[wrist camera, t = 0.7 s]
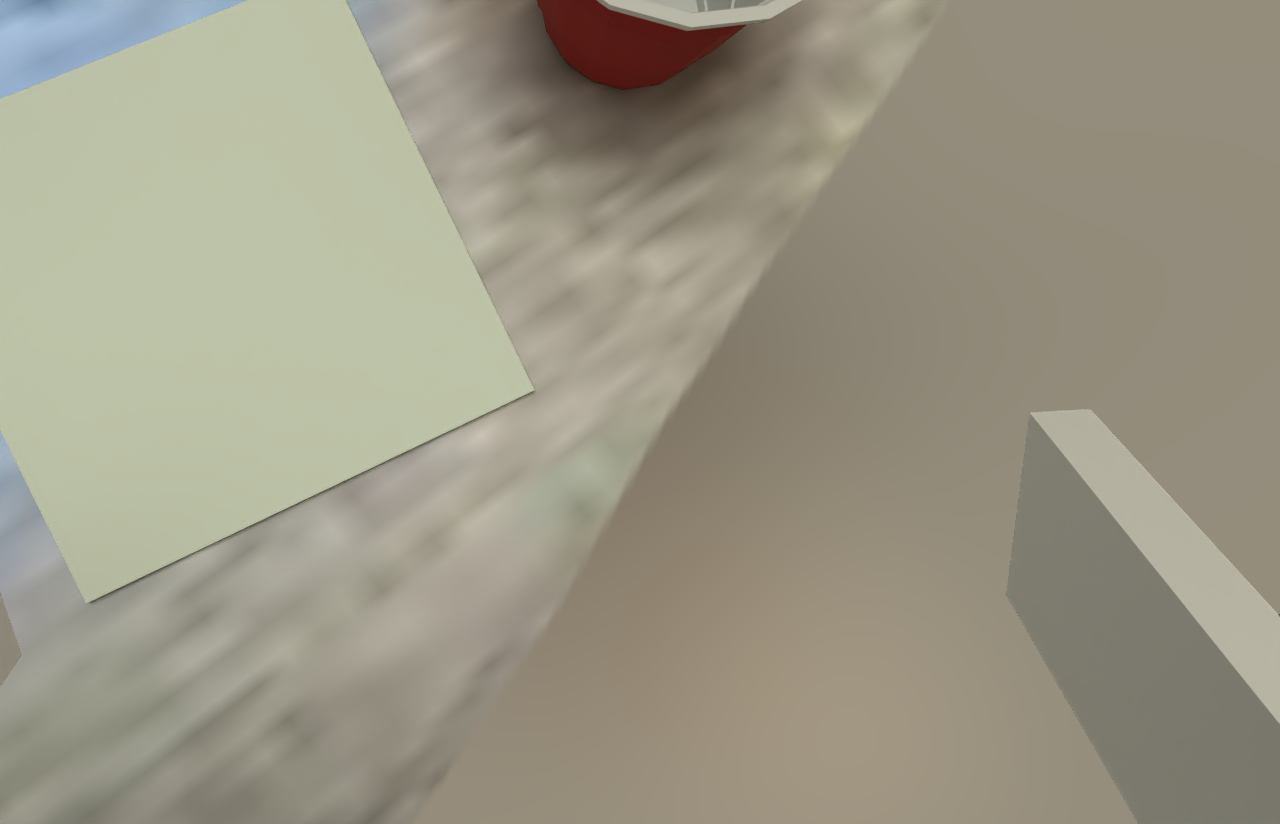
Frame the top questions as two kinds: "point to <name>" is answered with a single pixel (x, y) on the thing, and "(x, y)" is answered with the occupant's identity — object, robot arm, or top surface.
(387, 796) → the top surface
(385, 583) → the top surface
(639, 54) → the plastic cup
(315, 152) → the mat
